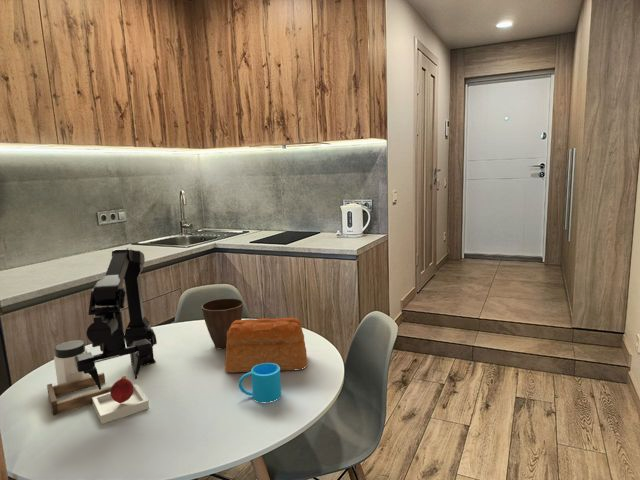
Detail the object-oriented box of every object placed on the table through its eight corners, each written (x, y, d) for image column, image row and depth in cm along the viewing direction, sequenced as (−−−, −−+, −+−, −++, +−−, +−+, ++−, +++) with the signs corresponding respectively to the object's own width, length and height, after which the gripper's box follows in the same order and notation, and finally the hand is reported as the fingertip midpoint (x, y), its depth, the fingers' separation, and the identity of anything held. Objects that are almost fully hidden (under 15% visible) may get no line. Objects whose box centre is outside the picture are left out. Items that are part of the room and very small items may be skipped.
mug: (281, 388, 129) (280, 362, 127) (280, 402, 121) (279, 375, 119) (240, 390, 128) (239, 364, 127) (237, 405, 120) (235, 377, 119)
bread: (230, 356, 152) (227, 315, 149) (306, 353, 153) (305, 312, 150) (222, 375, 138) (219, 330, 136) (306, 372, 139) (305, 326, 136)
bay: (104, 381, 136) (103, 369, 135) (113, 397, 126) (111, 384, 125) (48, 397, 127) (46, 384, 126) (53, 415, 117) (51, 402, 116)
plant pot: (196, 348, 160) (192, 306, 157) (226, 335, 172) (223, 296, 169) (224, 357, 151) (221, 313, 149) (253, 342, 163) (251, 301, 161)
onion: (135, 405, 121) (138, 379, 120) (113, 410, 117) (117, 383, 115) (126, 395, 125) (130, 369, 124) (105, 400, 121) (109, 373, 119)
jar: (58, 390, 131) (53, 353, 129) (57, 380, 138) (52, 344, 136) (91, 382, 136) (87, 345, 134) (88, 372, 142) (84, 337, 141)
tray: (137, 391, 129) (136, 384, 129) (149, 408, 120) (148, 400, 119) (92, 405, 122) (92, 397, 122) (101, 424, 113) (100, 415, 112)
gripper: (140, 314, 129) (144, 364, 131) (68, 329, 118) (75, 383, 120) (151, 324, 120) (155, 377, 123) (74, 341, 109) (81, 399, 112)
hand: (117, 383), depth 120 cm, fingers open, 9 cm apart
